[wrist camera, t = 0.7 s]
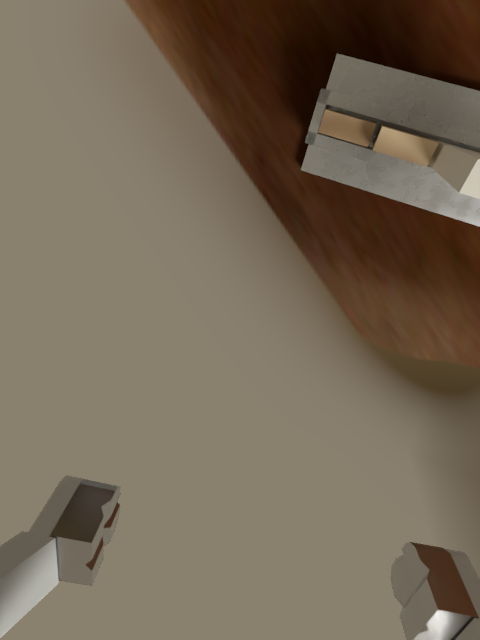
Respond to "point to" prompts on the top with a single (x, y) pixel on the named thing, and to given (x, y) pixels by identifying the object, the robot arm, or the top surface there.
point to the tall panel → (458, 167)
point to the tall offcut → (404, 145)
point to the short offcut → (347, 127)
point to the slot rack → (402, 113)
